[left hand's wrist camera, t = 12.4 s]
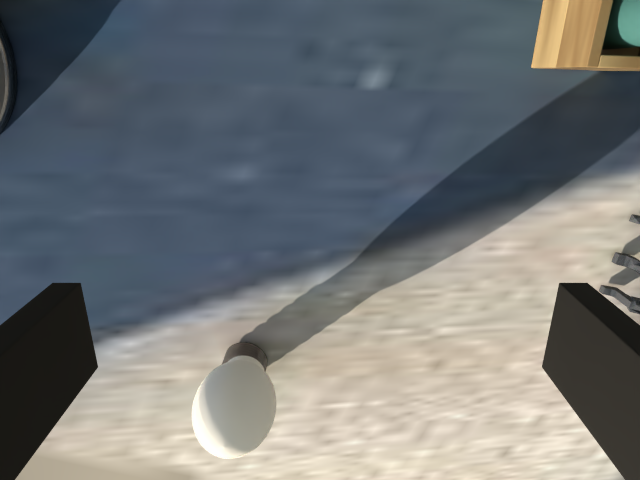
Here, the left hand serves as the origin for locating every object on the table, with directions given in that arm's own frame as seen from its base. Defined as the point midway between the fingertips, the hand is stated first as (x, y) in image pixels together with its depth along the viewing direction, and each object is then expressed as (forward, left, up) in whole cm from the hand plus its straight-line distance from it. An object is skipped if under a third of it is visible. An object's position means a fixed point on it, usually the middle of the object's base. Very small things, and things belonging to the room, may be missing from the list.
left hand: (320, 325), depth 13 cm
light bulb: (-7, -20, -26) cm, 33 cm away
